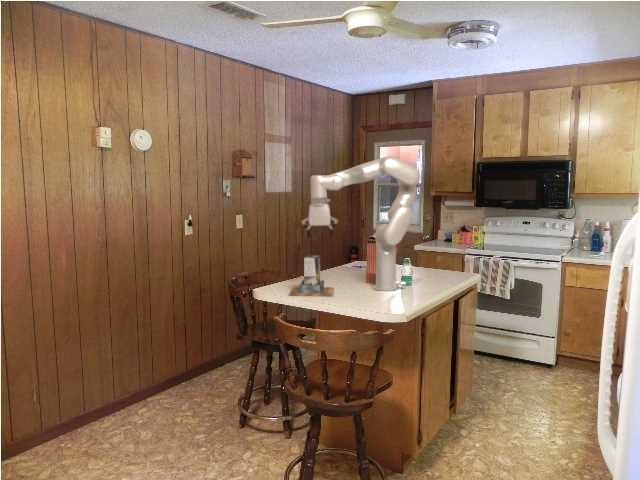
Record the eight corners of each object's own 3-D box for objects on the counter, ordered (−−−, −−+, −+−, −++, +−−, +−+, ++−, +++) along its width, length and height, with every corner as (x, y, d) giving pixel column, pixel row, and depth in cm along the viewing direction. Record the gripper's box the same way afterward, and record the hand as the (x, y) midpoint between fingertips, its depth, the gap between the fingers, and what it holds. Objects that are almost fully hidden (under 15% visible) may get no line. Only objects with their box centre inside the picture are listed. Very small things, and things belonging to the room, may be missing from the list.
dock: (334, 289, 238) (334, 280, 238) (333, 296, 223) (333, 286, 223) (293, 289, 240) (292, 279, 239) (289, 295, 225) (289, 285, 224)
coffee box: (317, 292, 226) (317, 257, 225) (303, 292, 227) (303, 257, 226) (320, 288, 235) (320, 255, 234) (307, 288, 236) (307, 254, 235)
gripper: (337, 200, 234) (338, 236, 236) (301, 201, 235) (302, 237, 237) (337, 201, 227) (338, 238, 229) (300, 202, 227) (301, 239, 229)
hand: (320, 237), depth 233 cm, fingers open, 9 cm apart
